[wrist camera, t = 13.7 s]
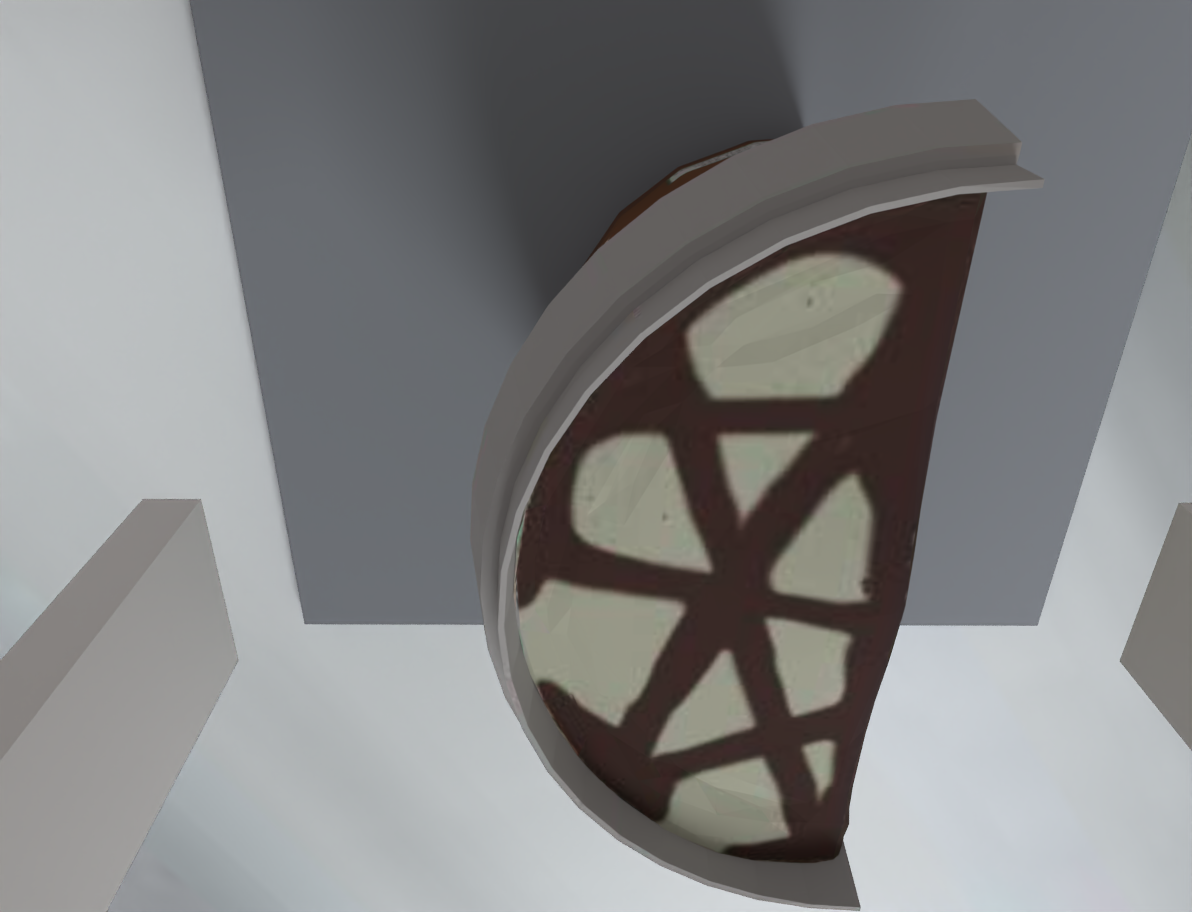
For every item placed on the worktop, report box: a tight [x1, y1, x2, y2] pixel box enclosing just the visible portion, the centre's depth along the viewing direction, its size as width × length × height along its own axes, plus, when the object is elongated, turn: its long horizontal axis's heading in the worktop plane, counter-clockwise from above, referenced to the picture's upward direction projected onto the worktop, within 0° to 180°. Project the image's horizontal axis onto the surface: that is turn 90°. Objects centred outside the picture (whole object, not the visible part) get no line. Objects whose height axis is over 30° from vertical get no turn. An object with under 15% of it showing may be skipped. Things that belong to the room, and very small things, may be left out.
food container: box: [470, 99, 1045, 911], centre depth 16 cm, size 12×6×10 cm, turn 179°
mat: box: [190, 0, 1192, 626], centre depth 20 cm, size 16×20×1 cm
